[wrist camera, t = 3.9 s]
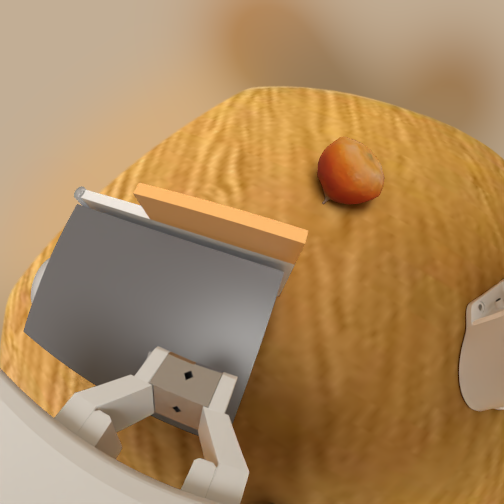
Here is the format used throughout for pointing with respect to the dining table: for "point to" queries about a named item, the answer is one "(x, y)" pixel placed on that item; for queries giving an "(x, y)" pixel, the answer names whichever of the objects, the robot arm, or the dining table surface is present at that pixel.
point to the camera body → (148, 302)
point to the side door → (207, 225)
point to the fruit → (349, 172)
